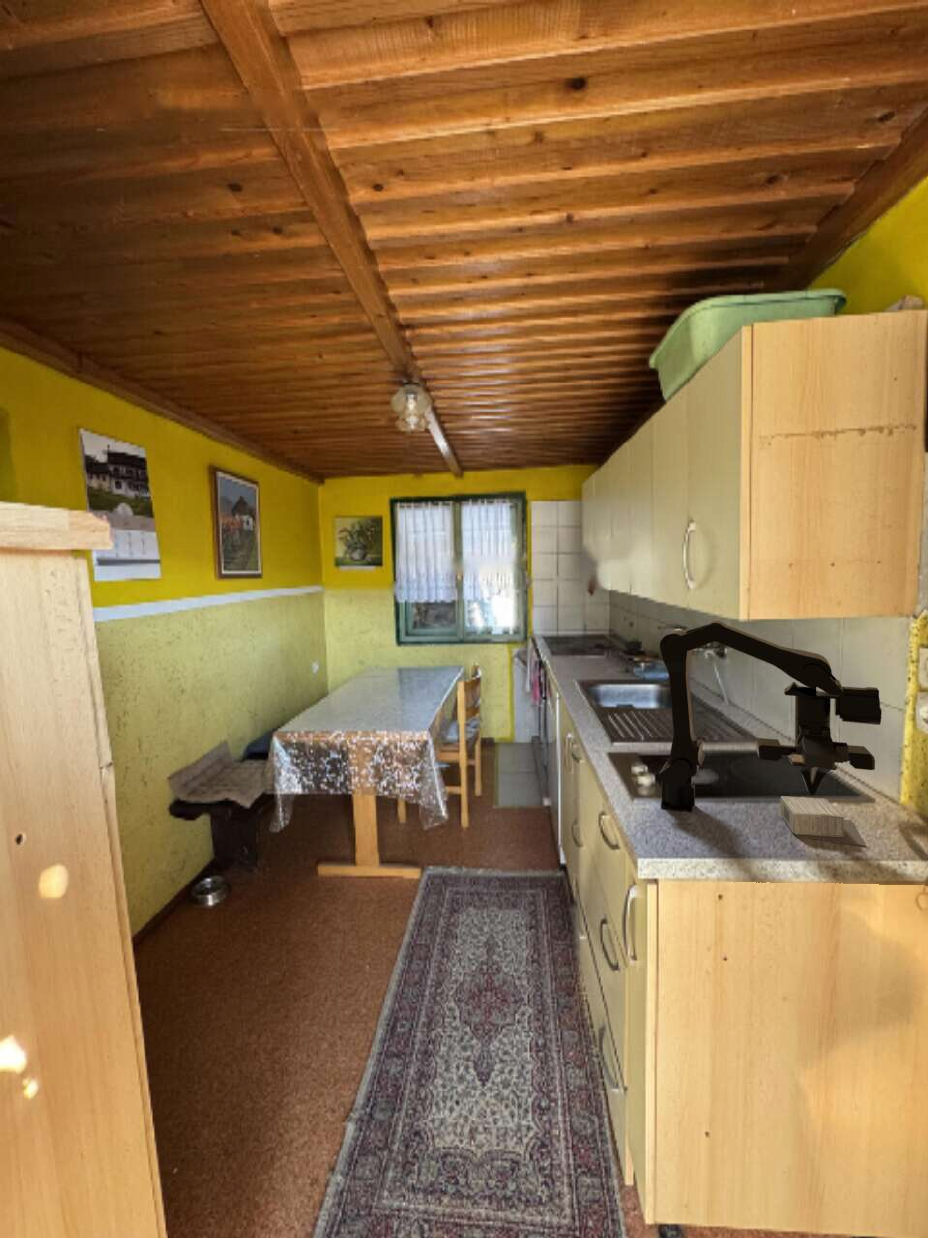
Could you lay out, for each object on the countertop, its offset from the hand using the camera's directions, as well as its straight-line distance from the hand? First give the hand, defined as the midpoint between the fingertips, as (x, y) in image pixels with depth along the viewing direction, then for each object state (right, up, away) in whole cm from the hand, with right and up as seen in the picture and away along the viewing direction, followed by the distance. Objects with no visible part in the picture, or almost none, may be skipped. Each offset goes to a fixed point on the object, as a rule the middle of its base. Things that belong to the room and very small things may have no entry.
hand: (811, 794), depth 100 cm
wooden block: (-4, -5, +3) cm, 7 cm away
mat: (+3, -7, +1) cm, 8 cm away
